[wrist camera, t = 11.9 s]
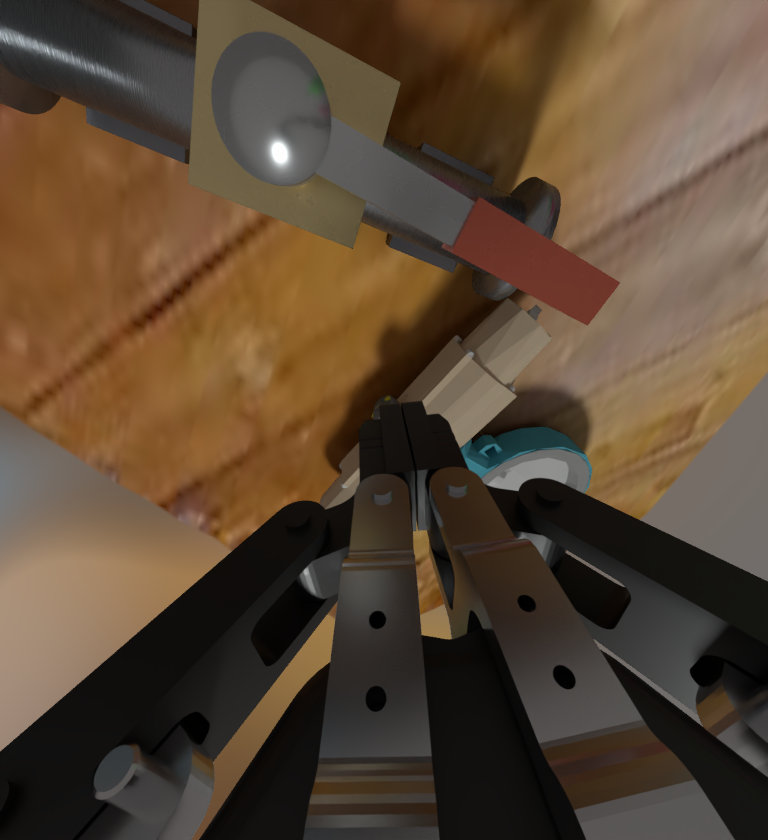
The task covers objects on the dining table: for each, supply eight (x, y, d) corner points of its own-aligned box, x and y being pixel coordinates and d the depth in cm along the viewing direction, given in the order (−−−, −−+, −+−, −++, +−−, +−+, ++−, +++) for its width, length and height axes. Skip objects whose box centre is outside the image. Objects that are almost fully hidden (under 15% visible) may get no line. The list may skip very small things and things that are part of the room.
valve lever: (220, 156, 14) (201, 150, 12) (242, 27, 12) (224, -2, 10) (555, 329, 19) (575, 341, 17) (606, 257, 17) (634, 263, 15)
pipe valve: (61, 120, 20) (-145, 60, 12) (46, -51, 17) (-256, -305, 9) (472, 286, 28) (526, 322, 19) (518, 188, 24) (608, 180, 16)
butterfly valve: (635, 424, 40) (479, 254, 26) (685, 464, 35) (524, 278, 20) (471, 545, 50) (293, 472, 36) (491, 591, 45) (289, 527, 30)
